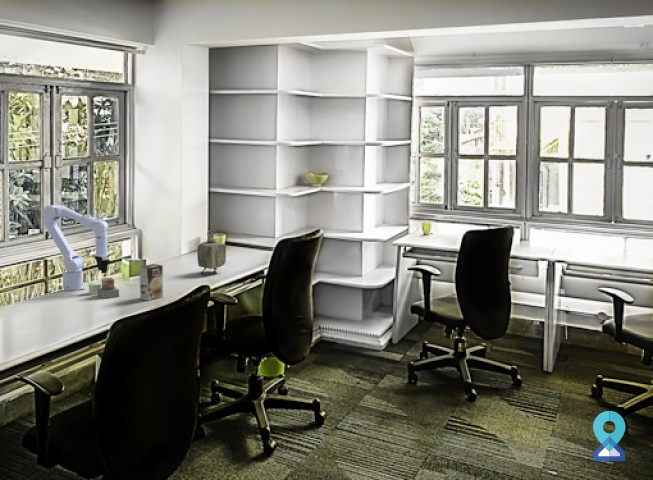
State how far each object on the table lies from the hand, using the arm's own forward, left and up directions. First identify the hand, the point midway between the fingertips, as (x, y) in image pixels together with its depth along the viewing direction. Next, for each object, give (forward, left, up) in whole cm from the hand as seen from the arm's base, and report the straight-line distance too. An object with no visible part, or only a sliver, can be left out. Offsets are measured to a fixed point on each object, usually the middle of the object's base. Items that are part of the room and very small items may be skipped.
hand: (102, 271), depth 364 cm
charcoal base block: (0, -14, -10) cm, 17 cm away
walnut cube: (0, -14, -6) cm, 15 cm away
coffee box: (+18, -26, -10) cm, 33 cm away
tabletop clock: (+63, +14, -10) cm, 65 cm away
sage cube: (-5, -6, -10) cm, 12 cm away
